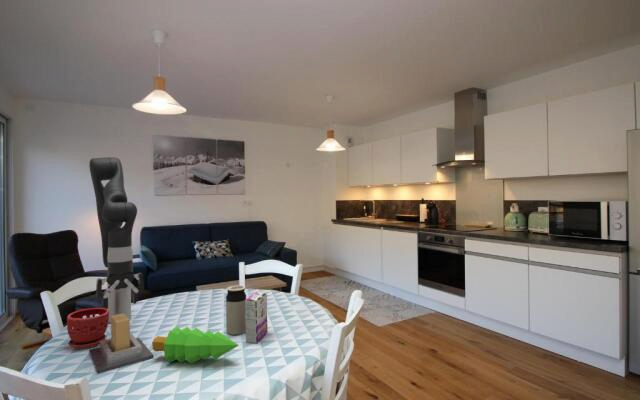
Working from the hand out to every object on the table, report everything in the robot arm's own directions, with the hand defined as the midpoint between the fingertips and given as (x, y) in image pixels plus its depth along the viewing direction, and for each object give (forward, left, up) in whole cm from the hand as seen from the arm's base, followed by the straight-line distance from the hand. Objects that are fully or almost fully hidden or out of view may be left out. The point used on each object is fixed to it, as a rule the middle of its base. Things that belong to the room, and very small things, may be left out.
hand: (120, 305), depth 117 cm
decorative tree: (+23, +17, -17) cm, 34 cm away
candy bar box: (+19, +43, -17) cm, 50 cm away
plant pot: (-19, -7, -17) cm, 27 cm away
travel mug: (+8, +40, -17) cm, 44 cm away
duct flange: (0, 0, -17) cm, 17 cm away
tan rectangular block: (0, 0, -16) cm, 16 cm away
